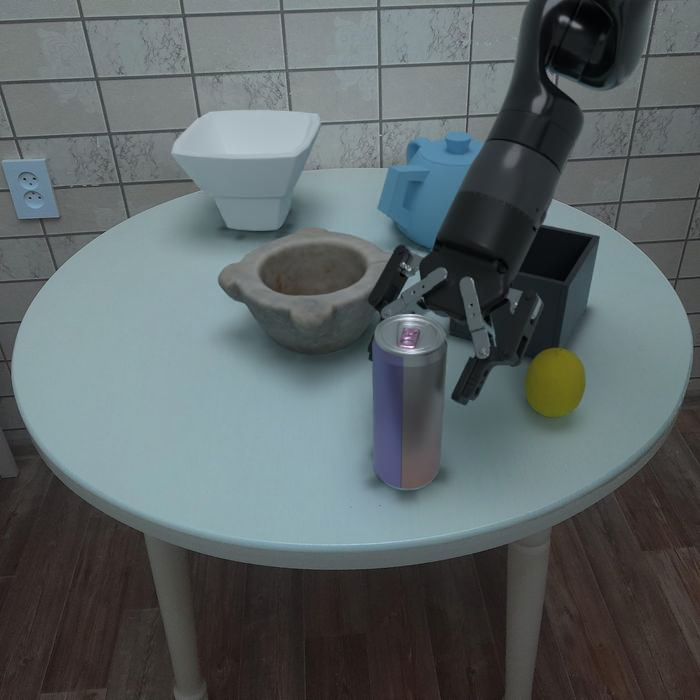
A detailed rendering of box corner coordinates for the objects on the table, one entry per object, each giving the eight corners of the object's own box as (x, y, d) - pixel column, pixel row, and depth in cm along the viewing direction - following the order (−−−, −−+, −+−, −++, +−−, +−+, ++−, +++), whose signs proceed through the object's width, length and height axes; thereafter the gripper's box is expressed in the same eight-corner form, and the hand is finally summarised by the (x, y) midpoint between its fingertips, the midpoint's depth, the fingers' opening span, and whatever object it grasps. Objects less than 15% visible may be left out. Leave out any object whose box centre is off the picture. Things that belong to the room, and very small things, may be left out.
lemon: (509, 415, 71) (517, 348, 66) (543, 390, 74) (553, 325, 69) (556, 443, 68) (568, 375, 63) (589, 416, 71) (604, 349, 66)
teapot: (376, 250, 100) (376, 153, 92) (401, 195, 115) (403, 108, 107) (517, 264, 96) (530, 164, 88) (524, 205, 111) (536, 115, 103)
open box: (586, 309, 86) (600, 235, 81) (555, 364, 78) (569, 286, 72) (487, 285, 91) (494, 214, 86) (448, 334, 83) (453, 259, 77)
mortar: (214, 335, 84) (202, 266, 79) (320, 280, 93) (316, 215, 88) (312, 398, 74) (306, 324, 69) (419, 330, 84) (421, 260, 78)
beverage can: (366, 488, 64) (364, 349, 55) (380, 442, 68) (380, 308, 60) (434, 498, 62) (442, 359, 54) (443, 452, 67) (452, 316, 58)
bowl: (331, 198, 115) (327, 110, 106) (307, 256, 99) (301, 158, 91) (217, 194, 117) (205, 108, 109) (177, 250, 102) (159, 154, 93)
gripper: (411, 170, 62) (329, 341, 61) (566, 212, 54) (473, 408, 54) (443, 206, 68) (369, 362, 67) (586, 249, 60) (503, 424, 60)
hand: (415, 382), depth 61 cm, fingers open, 8 cm apart
